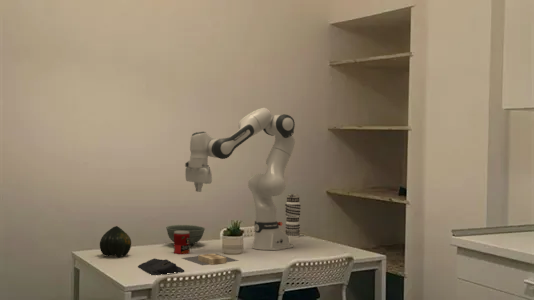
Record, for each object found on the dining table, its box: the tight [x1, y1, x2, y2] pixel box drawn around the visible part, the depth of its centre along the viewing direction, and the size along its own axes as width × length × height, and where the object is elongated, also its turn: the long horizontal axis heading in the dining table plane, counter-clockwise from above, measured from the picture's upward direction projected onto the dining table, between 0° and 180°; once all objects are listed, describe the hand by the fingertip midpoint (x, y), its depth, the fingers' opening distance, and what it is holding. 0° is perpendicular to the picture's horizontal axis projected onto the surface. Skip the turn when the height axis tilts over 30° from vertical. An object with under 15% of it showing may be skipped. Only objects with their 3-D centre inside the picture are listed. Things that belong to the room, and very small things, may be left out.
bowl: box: [166, 224, 206, 247], centre depth 342 cm, size 21×21×10 cm
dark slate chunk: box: [137, 258, 185, 276], centre depth 281 cm, size 15×22×5 cm
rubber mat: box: [181, 253, 240, 266], centre depth 303 cm, size 20×20×1 cm
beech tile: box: [197, 253, 228, 266], centre depth 298 cm, size 8×2×12 cm
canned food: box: [173, 231, 190, 255], centre depth 319 cm, size 8×8×11 cm
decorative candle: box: [284, 193, 301, 238], centre depth 378 cm, size 9×9×25 cm
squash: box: [99, 225, 132, 258], centre depth 311 cm, size 14×15×15 cm
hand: (198, 191), depth 320 cm, fingers closed
